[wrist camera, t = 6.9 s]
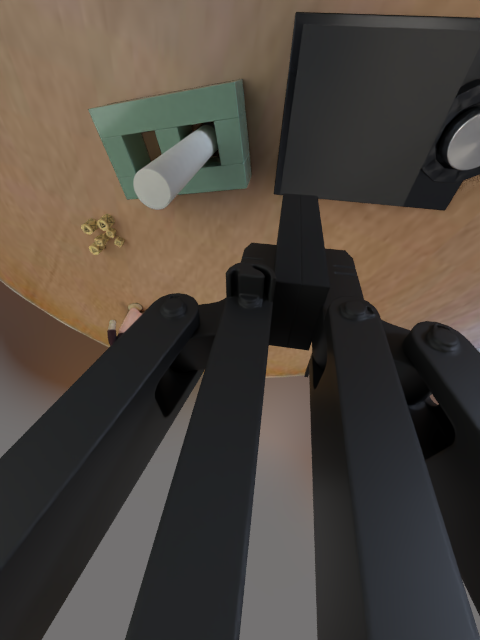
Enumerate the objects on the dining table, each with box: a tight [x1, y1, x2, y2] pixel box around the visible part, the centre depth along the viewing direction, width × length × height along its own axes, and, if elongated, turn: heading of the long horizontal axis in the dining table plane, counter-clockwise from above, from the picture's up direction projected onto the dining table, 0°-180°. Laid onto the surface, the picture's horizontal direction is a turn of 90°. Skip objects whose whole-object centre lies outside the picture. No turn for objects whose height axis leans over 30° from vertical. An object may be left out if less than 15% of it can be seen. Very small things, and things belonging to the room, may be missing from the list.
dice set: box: [81, 214, 125, 255], centre depth 36 cm, size 5×5×2 cm
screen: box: [280, 24, 480, 206], centre depth 22 cm, size 12×12×1 cm
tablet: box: [274, 12, 480, 210], centre depth 23 cm, size 19×13×2 cm
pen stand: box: [88, 79, 252, 200], centre depth 25 cm, size 8×13×4 cm, turn 98°
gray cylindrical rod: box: [133, 123, 218, 210], centre depth 21 cm, size 2×2×15 cm
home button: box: [439, 107, 480, 170], centre depth 21 cm, size 4×4×2 cm
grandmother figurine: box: [107, 303, 145, 346], centre depth 43 cm, size 8×4×13 cm, turn 52°
